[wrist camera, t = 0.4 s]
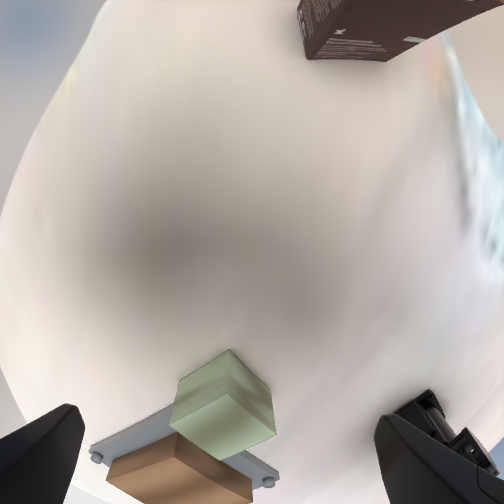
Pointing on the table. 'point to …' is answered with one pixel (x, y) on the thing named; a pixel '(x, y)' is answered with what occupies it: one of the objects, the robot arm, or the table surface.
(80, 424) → the robot arm
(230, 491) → the base brick
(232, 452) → the block
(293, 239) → the table surface
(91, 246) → the table surface
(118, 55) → the table surface
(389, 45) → the box
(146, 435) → the baseplate
